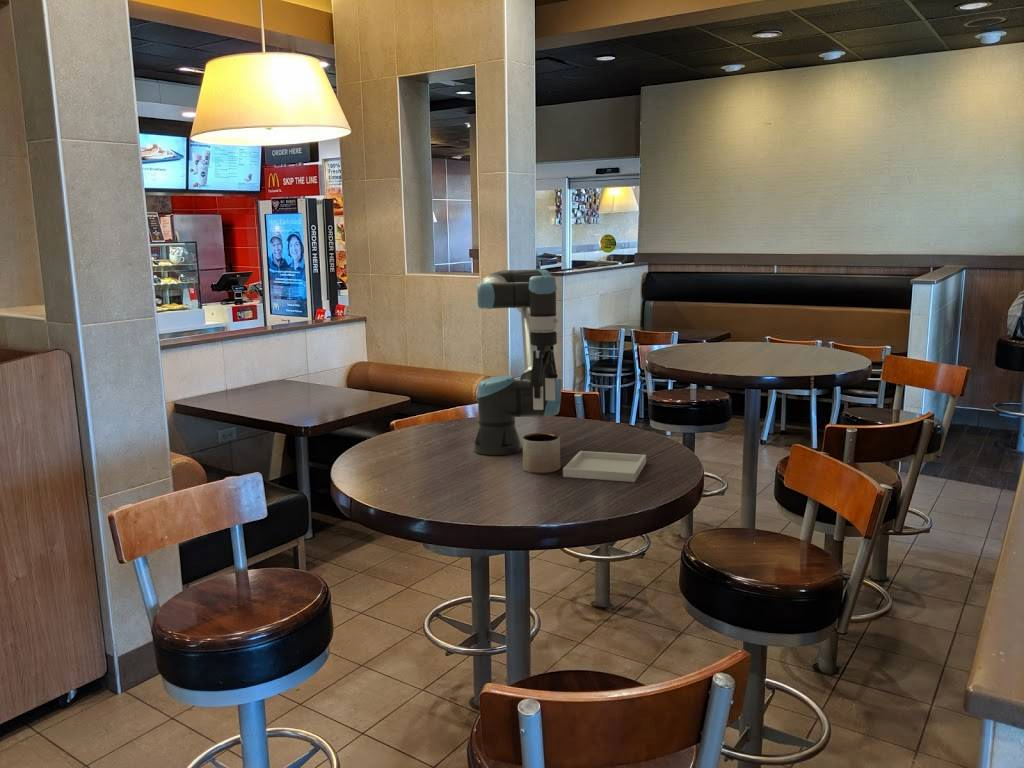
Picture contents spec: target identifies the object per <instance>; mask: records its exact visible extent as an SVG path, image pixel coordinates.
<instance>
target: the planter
mask: <svg viewBox="0 0 1024 768" xmlns="http://www.w3.org/2000/svg"><path fill="white" fill-rule="evenodd" d="M560 440H561V436H559V435H558V434H553V433H550V432H547V433H546V432H536V433H530V434H526V435H524V436H522V469H523V470H524V472H525V471H526V472H527V473H530V474H536V475H545V474H552V473H556V472H557V471H559V470H560V469H561V441H560Z"/></svg>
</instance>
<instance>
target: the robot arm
mask: <svg viewBox="0 0 1024 768" xmlns="http://www.w3.org/2000/svg"><path fill="white" fill-rule="evenodd" d="M476 288H477V289H476V290H477V291H476V293H477V307H478V308H479V309H482V310H483V309H485V310H491V309H492V310H493V309H516V310H517V311H518V312H520V314H521V315H520V316H521V332H522V349H523V364H524V366H523V367H524V371H523V373H521V374H520V376H519V378H520V380H519V379H518V380H516V378H515V377H514V375H498V376H493V377H488V378H485V379H482V380H481V381H480V382H479V383H478V385H477V396H476V397H477V411H478V412H477V415H478V416H477V417H478V428H477V432H476V435H475V438H474V441H473V451H474V452H475V453H476V454H480V455H484V456H507V455H511V454H516V453H518V452H520V451H521V450H522V442H521V439H520V436H519V433H518V430H517V427H516V418H525V417H527V418H528V417H530V418H531V417H535V418H536V417H538V418H539V417H544V418H546V417H549V416H552V417H553V416H556V415H558V414H559V412H560V409H561V407H560V406H561V398H562V383H563V382H562V381H563V380H562V379H560V378H558V373H557V372H558V371H557V367H556V359H555V352H554V351H555V349H554V346H556V345H557V343H558V333H557V332H556V331H555V330H557V323H559V319H558V318H557V279H556V277H555V276H554V275H552V274H551V272H550V271H549V270H547V269H539V268H535V269H507V270H506V269H505V270H499V271H496V272H492V273H490V274H488V275H486V276H485V277H484V278H483V279H482V280H481V281H480V283H478V284H477V286H476Z"/></svg>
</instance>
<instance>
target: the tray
mask: <svg viewBox="0 0 1024 768" xmlns="http://www.w3.org/2000/svg"><path fill="white" fill-rule="evenodd" d="M646 464H647V454H637V453H624V452H623V453H622V452H606V451H587V450H579V451H578V453H576V455H574V456H573V458H571V459H570V461H569V462H567V463H566V465H564V467H563V468H562V477H563V478H573V479H577V478H578V479H589V480H604V481H614V482H615V481H616V482H617V481H618V482H627V483H628V482H631V483H635V482H636V480H637V479H638V477H639V476H640V473H641V472H642V470H643V469H644V467H645V466H646Z"/></svg>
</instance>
